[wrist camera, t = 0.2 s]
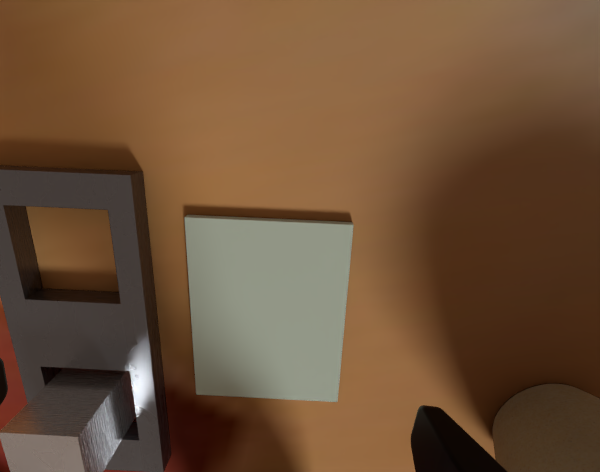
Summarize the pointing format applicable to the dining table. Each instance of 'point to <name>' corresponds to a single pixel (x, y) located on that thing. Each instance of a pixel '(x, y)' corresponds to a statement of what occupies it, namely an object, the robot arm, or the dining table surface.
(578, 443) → the plant pot
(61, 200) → the grey flat frame
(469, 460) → the robot arm
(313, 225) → the sage mat
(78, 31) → the dining table surface
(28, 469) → the steel peg
